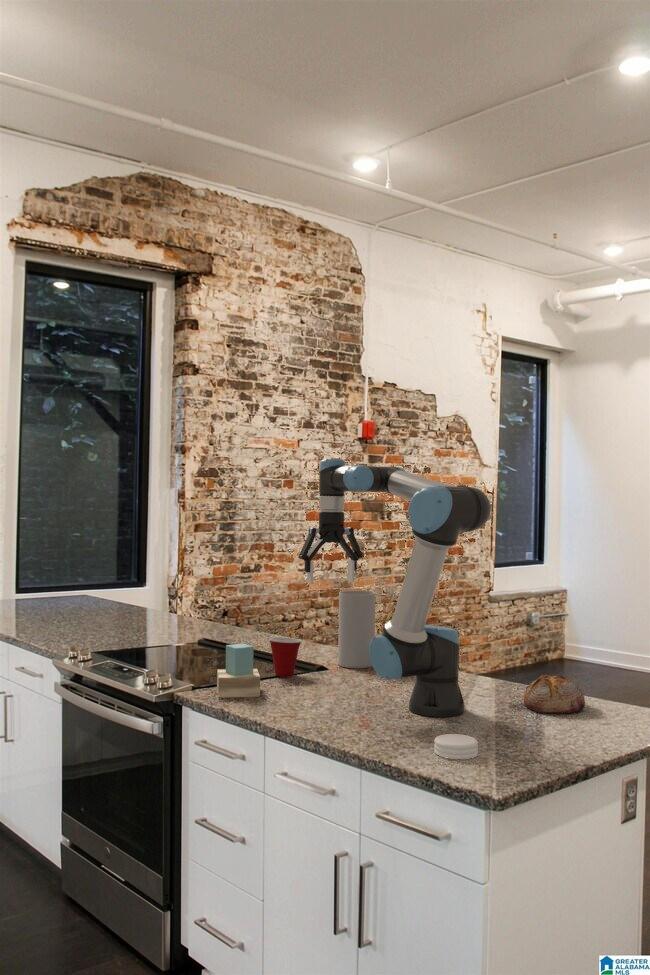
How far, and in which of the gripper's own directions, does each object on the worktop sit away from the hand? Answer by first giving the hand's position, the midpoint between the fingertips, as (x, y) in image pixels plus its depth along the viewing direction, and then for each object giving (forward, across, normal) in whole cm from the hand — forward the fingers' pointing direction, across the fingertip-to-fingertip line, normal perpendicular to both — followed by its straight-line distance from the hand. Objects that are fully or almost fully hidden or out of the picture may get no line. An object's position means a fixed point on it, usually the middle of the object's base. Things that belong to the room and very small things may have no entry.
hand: (330, 582), depth 260 cm
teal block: (+27, +24, -12) cm, 38 cm away
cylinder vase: (+33, -27, -33) cm, 54 cm away
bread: (+33, -51, +40) cm, 73 cm away
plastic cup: (+33, +2, -28) cm, 43 cm away
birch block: (+33, +24, -12) cm, 43 cm away
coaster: (+33, 0, +65) cm, 73 cm away
